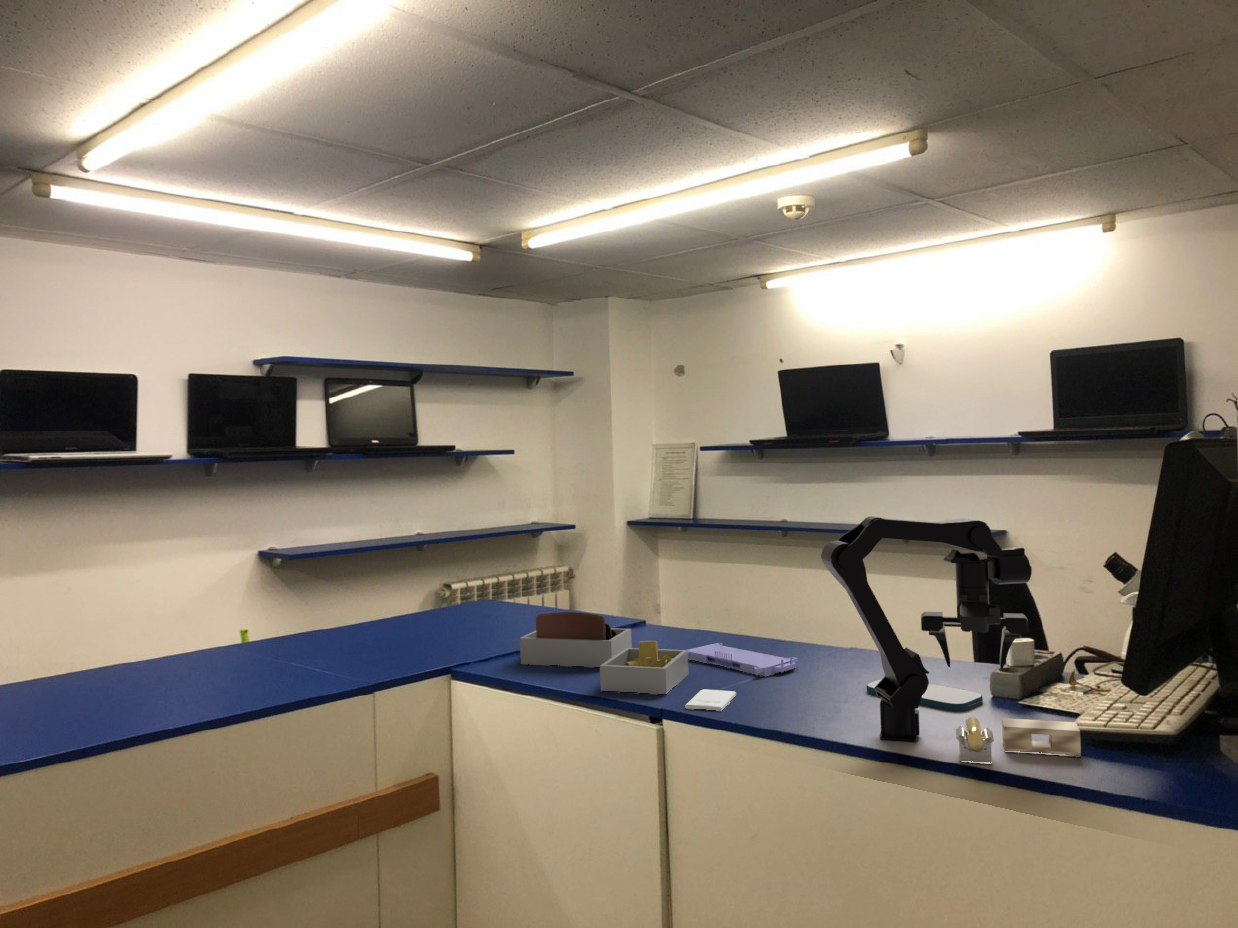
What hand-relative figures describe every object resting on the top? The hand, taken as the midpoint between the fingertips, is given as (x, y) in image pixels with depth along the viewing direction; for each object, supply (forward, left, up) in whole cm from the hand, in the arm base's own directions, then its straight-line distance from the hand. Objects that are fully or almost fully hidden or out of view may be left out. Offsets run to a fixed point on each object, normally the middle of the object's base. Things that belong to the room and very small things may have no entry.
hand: (975, 667), depth 169 cm
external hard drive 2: (-10, +22, -13) cm, 27 cm away
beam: (+10, -9, -12) cm, 18 cm away
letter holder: (-98, +40, -12) cm, 107 cm away
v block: (-1, -16, -12) cm, 20 cm away
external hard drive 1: (-54, +9, -13) cm, 56 cm away
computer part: (-55, +44, -13) cm, 71 cm away
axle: (-1, -16, -8) cm, 18 cm away
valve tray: (-73, +22, -12) cm, 77 cm away
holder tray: (-99, +42, -12) cm, 108 cm away
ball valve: (-71, +23, -12) cm, 76 cm away
